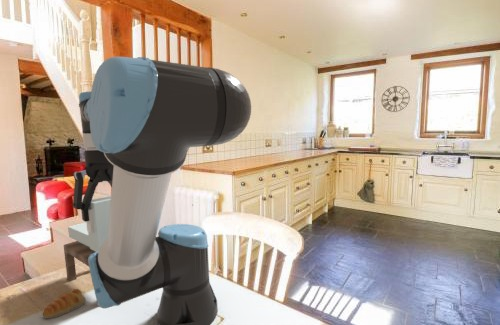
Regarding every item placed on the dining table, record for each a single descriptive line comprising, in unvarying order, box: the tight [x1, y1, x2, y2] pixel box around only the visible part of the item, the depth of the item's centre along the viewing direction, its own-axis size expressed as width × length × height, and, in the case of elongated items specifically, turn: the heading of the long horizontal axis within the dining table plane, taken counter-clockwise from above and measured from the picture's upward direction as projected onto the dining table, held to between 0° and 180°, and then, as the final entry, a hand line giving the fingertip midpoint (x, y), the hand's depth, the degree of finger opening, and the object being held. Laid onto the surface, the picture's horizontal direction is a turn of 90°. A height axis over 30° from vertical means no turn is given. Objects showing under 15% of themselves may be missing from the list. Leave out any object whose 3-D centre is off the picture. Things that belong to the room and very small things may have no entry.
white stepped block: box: [67, 195, 111, 252], centre depth 83 cm, size 23×8×14 cm, turn 53°
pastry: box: [42, 288, 86, 319], centre depth 74 cm, size 9×7×4 cm
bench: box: [63, 240, 98, 305], centre depth 85 cm, size 24×10×12 cm, turn 52°
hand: (106, 226), depth 78 cm, fingers closed on white stepped block, 8 cm apart
